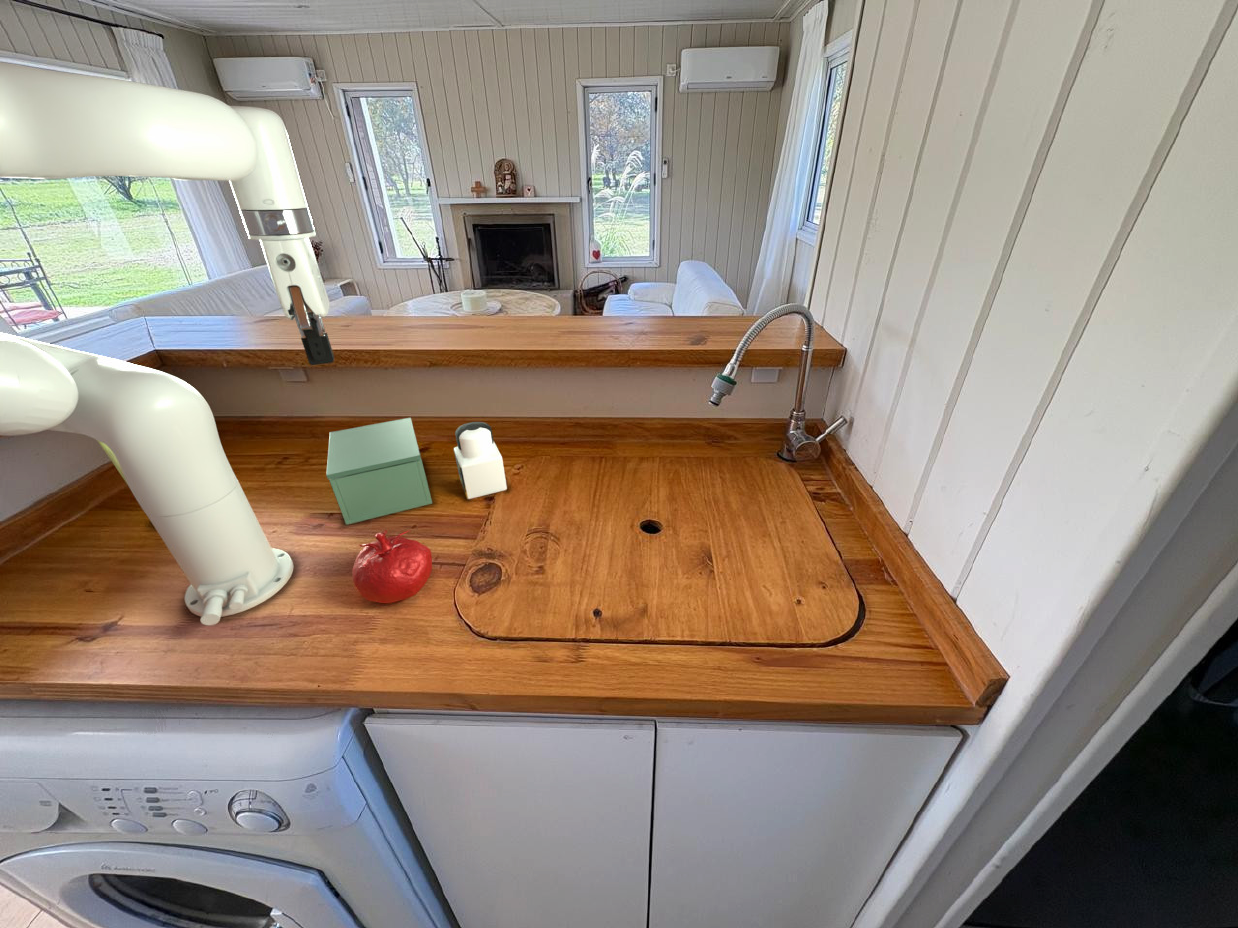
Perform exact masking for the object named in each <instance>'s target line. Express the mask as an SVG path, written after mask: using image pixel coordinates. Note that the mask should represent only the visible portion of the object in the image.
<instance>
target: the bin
mask: <svg viewBox="0 0 1238 928" xmlns="http://www.w3.org/2000/svg"><path fill="white" fill-rule="evenodd" d="M328 480H329V484H330V486H331V488H332V491H333V494H334V497H335V500H336V502H337V504H338V507H339V509H340V510H339V511H340V513H341V515H342V518H343V520H344V523H345V525H346V526H348V525H351V524H356V523H359V522H364V521H367V520H372V519H376V518H379V517H383V516H388V515H392V514H397V513H399V512H404V511H408V510H412V509H416V508H420V507H424V506H428V505H432V504H433V500H432V497H431V496H432V495H431V492H430V491H431V490H430V488H429V484H428V479H427V476H426V472H425V468H424V464H423V460H422V458H421V459H420V460H416V461H411V462H407V463H402V464H397V465H393V466H388V467H383V468H379V469H374V470H370V471H365V472H360V473H356V474H351V475H346V476H342V477H337V478H333V479H328Z"/></svg>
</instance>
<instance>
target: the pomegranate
mask: <svg viewBox="0 0 1238 928" xmlns="http://www.w3.org/2000/svg"><path fill="white" fill-rule="evenodd" d="M408 532H411V529H410V530H406V531H403V532H401V533H399V534H398V535H390V536H387V535H386V534H387V533H388V531H387V530H386V529H385V530H384V531H382V533H381V532H378V533H375V534H374V537H375V539H376V540H374V541H372V542H367V543H363V544H358V546H359V547H360V548H362V549H361V550H360V552H359V553H358V555H357V556H356V558H355V561H354V564H353V566H352V571H351V572H352V582H353V585H354V587H355V588H356V590H357V592H358V593H359V594H360V595H361V597H362V598H363V599H365V600H366V601H369V602H373V603H374V602H375V603H378V604H392V603H397V602H400V601H403V600H407V599H410V598H412V597H413V596H415V595H417V594H418V593H419V592H420V591H421V590H422V589H423V587H424V586H425V585H426V584H427V582H428V580H429V578H430V577H431V574H432V570H433V557H432V551H431V548H430V547H428V546H426V545H425V544H422V543H421V542H419V541H418V540H415V539H410V538H407V537H403V536H402V535H405V534H406V533H408Z"/></svg>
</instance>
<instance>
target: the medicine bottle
mask: <svg viewBox="0 0 1238 928" xmlns="http://www.w3.org/2000/svg"><path fill="white" fill-rule="evenodd" d="M454 435H455V439H456V444H457V446H455V447H453V453H454V457H455V462H456V466H457V471H458V476H459V480H460V483H461V486H462V489H463V491H464V495H465V498H466V499H467V500H472V499H477V498H480V497H485V496H487V495H493V494H497V493H501V492H504V491H507V489H508V486H507V480H506V474H505V473H506V472H505V467H504V460H503V456H502V454H501V453H500V451H499V448H498V447H497V444H496V443H495V441H494V435H493V430H492V427H491V425H489V424H488V423H486V422H483V421H471V422H467V423H464V424H462V425H459V427H457V429H456V430H455V432H454Z"/></svg>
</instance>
